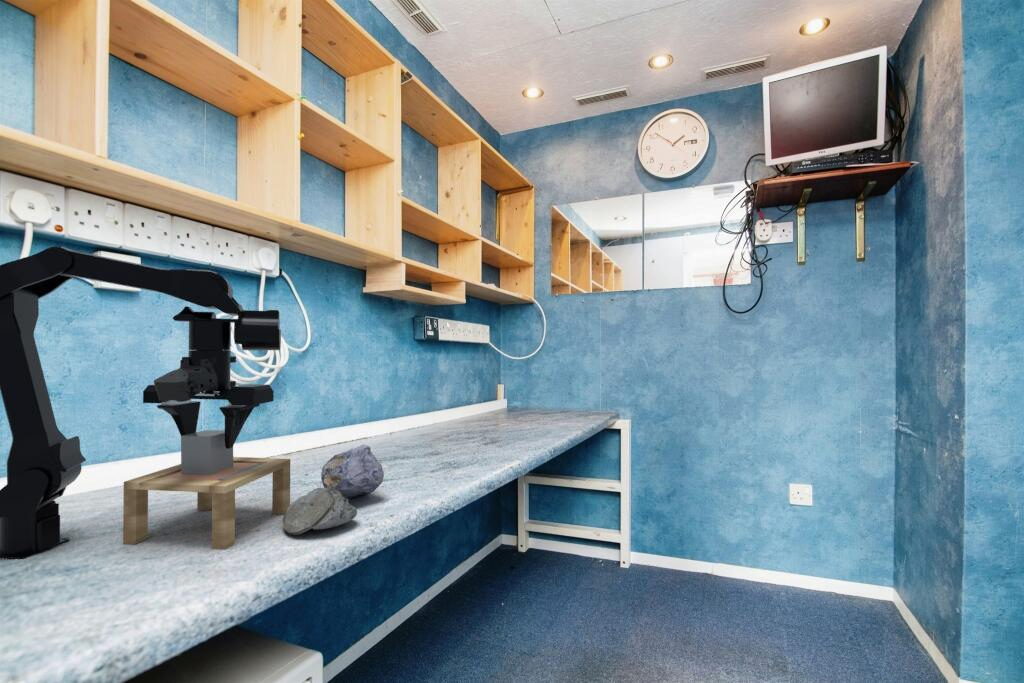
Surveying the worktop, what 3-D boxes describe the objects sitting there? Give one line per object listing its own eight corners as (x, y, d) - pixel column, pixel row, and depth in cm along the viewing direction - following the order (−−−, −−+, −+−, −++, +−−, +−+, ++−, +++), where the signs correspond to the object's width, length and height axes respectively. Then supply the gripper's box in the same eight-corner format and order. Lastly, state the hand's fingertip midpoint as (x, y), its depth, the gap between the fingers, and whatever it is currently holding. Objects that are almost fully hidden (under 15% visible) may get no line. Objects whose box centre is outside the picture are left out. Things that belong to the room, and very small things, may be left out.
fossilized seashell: (283, 501, 80) (319, 463, 77) (330, 519, 84) (365, 485, 82) (270, 550, 72) (310, 510, 69) (323, 568, 76) (362, 531, 73)
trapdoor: (159, 484, 72) (159, 477, 72) (209, 467, 82) (209, 461, 82) (224, 486, 71) (224, 479, 71) (266, 468, 81) (266, 462, 81)
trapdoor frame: (123, 543, 69) (123, 481, 69) (205, 506, 85) (206, 455, 85) (224, 549, 67) (225, 486, 67) (290, 510, 83) (290, 458, 83)
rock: (358, 488, 96) (359, 438, 96) (390, 499, 89) (390, 446, 89) (307, 502, 87) (307, 447, 87) (337, 515, 81) (337, 456, 81)
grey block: (181, 474, 74) (181, 435, 74) (205, 466, 79) (205, 430, 79) (210, 475, 73) (210, 436, 73) (233, 466, 78) (233, 430, 78)
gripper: (110, 350, 69) (108, 457, 69) (228, 352, 67) (227, 462, 67) (172, 349, 80) (171, 441, 80) (276, 350, 78) (275, 445, 78)
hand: (209, 447), depth 76 cm, fingers open, 7 cm apart
